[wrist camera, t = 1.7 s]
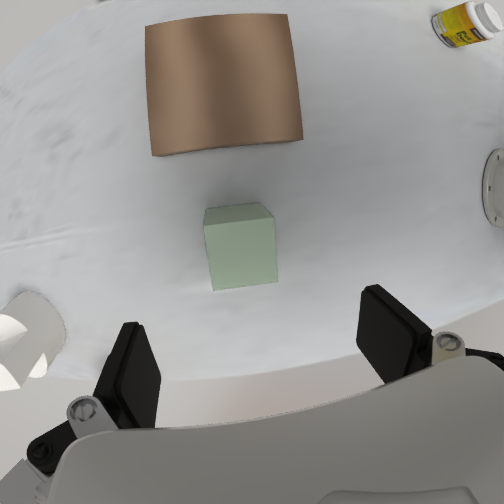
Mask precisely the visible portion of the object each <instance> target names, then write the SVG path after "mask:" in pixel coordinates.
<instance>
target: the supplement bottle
mask: <svg viewBox="0 0 504 504" xmlns="http://www.w3.org/2000/svg"><path fill="white" fill-rule="evenodd" d="M432 22H433V27H434V29H435V31H436V33H437V35H438V36H439V37H440V39H441V40H442V41H443V42H444V43H445V44H447V45H448V46H450V47H454V48H456V47H460V46H464V45H468V44H472V43H476V42H481V41H485V40H490V39H493V38H494V36H495V32H499V31H502V30H503V25H502V22H501V20H500V18H499V16H498V14H497V13H496V11H495V10H494V9H493V8H492V7H491V6H490V5H489V4H488V3H482V4H479V5H478V4H476V3H475V2H472V1H469V2H466V3H463V4H460V5H458V6H455V7H453V8H450V9H448V10H445V11H443V12H441V13H438V14H436V15H435V16H434V17H433V20H432Z"/></svg>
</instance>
